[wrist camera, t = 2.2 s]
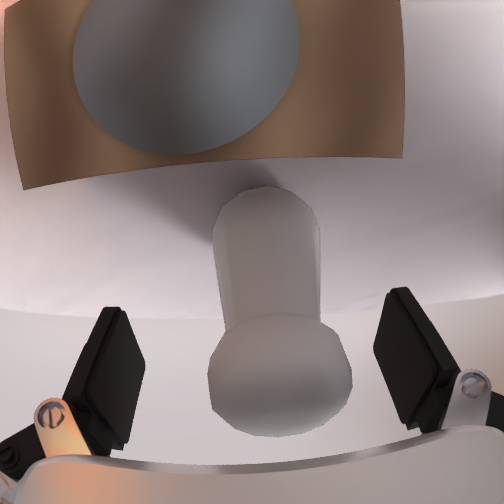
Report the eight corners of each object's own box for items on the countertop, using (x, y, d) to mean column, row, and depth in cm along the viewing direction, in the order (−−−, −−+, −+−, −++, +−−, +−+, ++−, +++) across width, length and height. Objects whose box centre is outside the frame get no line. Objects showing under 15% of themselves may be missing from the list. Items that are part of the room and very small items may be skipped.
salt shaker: (330, 215, 19) (420, 392, 8) (270, 277, 21) (288, 466, 10) (256, 155, 17) (272, 305, 6) (197, 228, 19) (143, 419, 8)
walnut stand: (357, -21, 12) (396, -52, 7) (364, 138, 17) (406, 161, 12) (54, 18, 12) (-2, 8, 7) (68, 163, 17) (18, 193, 12)
